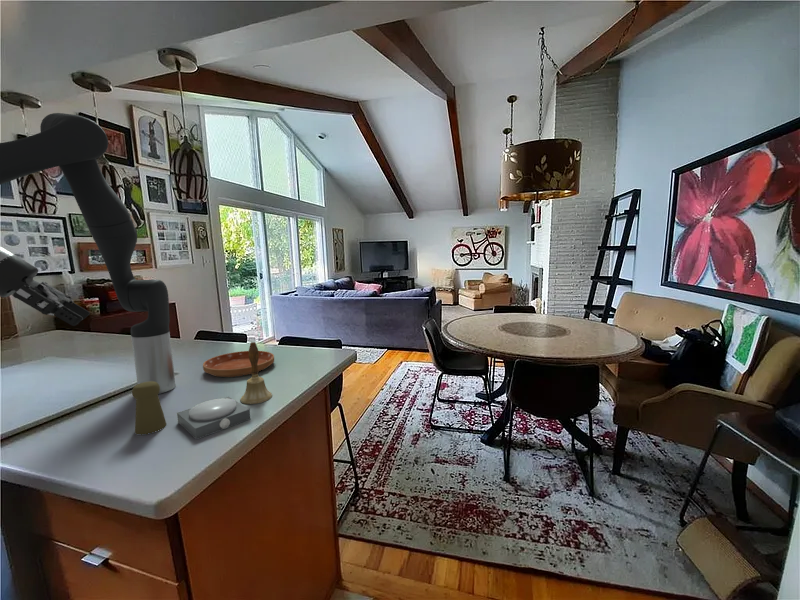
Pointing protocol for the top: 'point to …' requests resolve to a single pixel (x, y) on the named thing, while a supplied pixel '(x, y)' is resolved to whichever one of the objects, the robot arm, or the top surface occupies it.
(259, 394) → the hand bell
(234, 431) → the top surface
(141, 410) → the cork
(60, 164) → the robot arm
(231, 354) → the saucer
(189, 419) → the scale
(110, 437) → the top surface
